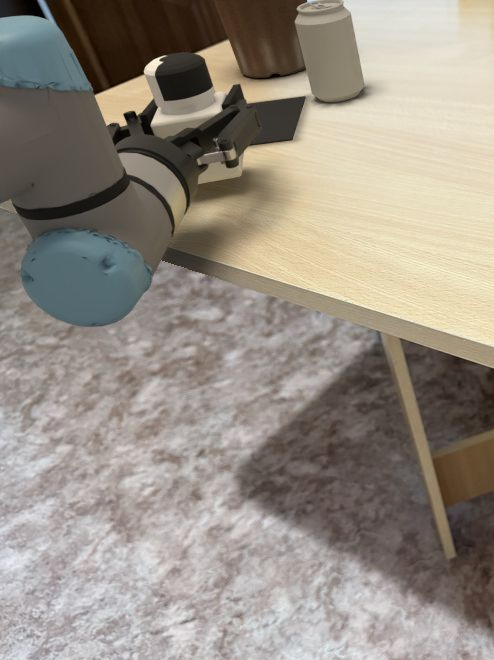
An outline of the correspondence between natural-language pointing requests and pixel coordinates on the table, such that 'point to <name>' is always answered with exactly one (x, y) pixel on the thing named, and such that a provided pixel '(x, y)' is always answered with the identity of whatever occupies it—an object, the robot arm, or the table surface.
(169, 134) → the medicine bottle
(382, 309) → the table surface
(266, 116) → the mat
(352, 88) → the can
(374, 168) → the table surface
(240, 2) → the plant pot
